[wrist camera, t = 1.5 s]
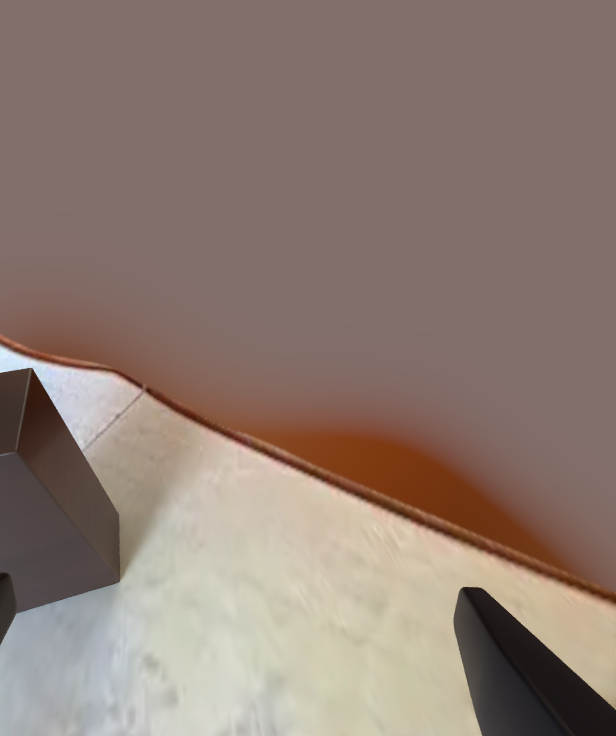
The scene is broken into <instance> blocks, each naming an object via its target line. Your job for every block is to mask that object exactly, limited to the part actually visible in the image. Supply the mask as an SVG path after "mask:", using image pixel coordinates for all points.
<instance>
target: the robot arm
mask: <svg viewBox="0 0 616 736" xmlns="http://www.w3.org/2000/svg"><path fill="white" fill-rule="evenodd" d="M16 611H17V600H16V595H15V590H14V585H13V580H12V577H11V575H10V574H9V573H6V572H0V645H1V643H2V641H3V639H4V637H5V635H6V633H7V631H8V629H9V627H10V625H11V623H12V621H13V619H14V617H15V615H16ZM454 630H455V634H456V638H457V642H458V646H459V650H460V654H461V658H462V662H463V666H464V670H465V674H466V678H467V682H468V686H469V690H470V695H471V699H472V703H473V706H474V710H475V714H476V717H477V720H478V724H479V727H480V730H481V733H482V736H616V710H615V709H614V708H613V707H612V706H611V705H610V704H609V703H608V702H606V701H605V700H604V699H603V698H602V697H601V696H600V695H599V694H598V693H597V692H595V691H594V690H593V689H592V688H591V687H590V686H589V685H588V684H587V683H586V682H585V681H583V680H582V679H581V678H580V677H579V676H578V675H577V674H576V673H575V672H574V671H573V670H571V669H570V668H569V667H568V666H567V665H566V664H565V663H564V662H563V661H562V660H560V659H559V658H558V657H557V656H556V655H555V654H554V653H553V652H552V651H551V650H550V649H548V648H547V647H546V646H545V645H544V644H543V643H542V642H541V641H540V640H539V639H537V638H536V637H535V636H534V635H533V634H532V633H531V632H530V631H529V630H528V629H527V628H525V627H524V626H523V625H522V624H521V623H520V622H519V621H518V620H517V619H516V618H515V617H513V616H512V615H511V614H510V613H509V612H508V611H507V610H506V609H505V608H504V607H502V606H501V605H500V604H499V603H498V602H497V601H496V600H495V599H494V598H493V597H492V596H490V595H489V594H488V593H487V592H486V591H485V590H483V589H482V588H479V587H463V588H461V589H460V591H459V595H458V600H457V604H456V609H455V613H454Z"/></svg>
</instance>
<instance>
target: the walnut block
mask: <svg viewBox="0 0 616 736" xmlns="http://www.w3.org/2000/svg"><path fill="white" fill-rule="evenodd" d="M0 572H6V573H9V574H10V575H11V577H12V580H13V585H14V590H15V595H16V600H17V611H16V613H19V612H22V611H25V610H29V609H32V608H35V607H39V606H42V605H45V604H49V603H52V602H55V601H58V600H62V599H65V598H68V597H72V596H75V595H78V594H82V593H85V592H88V591H92V590H95V589H98V588H102V587H105V586H108V585H112V584H115V583H118V582H120V557H119V514H118V512H117V511H116V509H115V507H114V506H113V504H112V502H111V500H110V499H109V497H108V495H107V494H106V492H105V490H104V489H103V487H102V485H101V484H100V482H99V480H98V478H97V477H96V475H95V473H94V472H93V470H92V468H91V467H90V465H89V463H88V462H87V460H86V458H85V456H84V455H83V453H82V451H81V450H80V448H79V446H78V445H77V443H76V441H75V439H74V438H73V436H72V434H71V433H70V431H69V429H68V428H67V426H66V424H65V423H64V421H63V419H62V417H61V416H60V414H59V412H58V411H57V409H56V407H55V406H54V404H53V402H52V401H51V399H50V397H49V395H48V394H47V392H46V390H45V389H44V387H43V385H42V384H41V382H40V380H39V379H38V377H37V375H36V373H35V372H34V370H33V369H32V368H27V369H20V370H14V371H8V372H2V373H0Z"/></svg>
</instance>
